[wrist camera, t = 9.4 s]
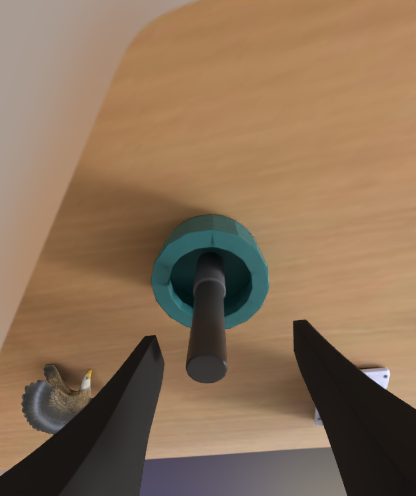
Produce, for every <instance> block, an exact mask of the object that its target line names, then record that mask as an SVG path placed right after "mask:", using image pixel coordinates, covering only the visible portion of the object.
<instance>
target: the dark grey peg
mask: <svg viewBox="0 0 416 496" xmlns="http://www.w3.org/2000/svg"><path fill="white" fill-rule="evenodd" d="M193 293H194V296H195V300H194V308H193V316H192V323H191V331H190V339H189V346H188V354H187V361H186V371H187V373H188V375H189V376H190V377H191V378H192V379H193V380H195V381H197V382H200V383H214V382H217V381H219V380H221V379H222V378H223V377H224V376H225V374H226V372H227V354H226V337H225V319H224V301H223V298H224V296H225V293H226V289H225V276H224V263H223V259H222V258H221V257H220V256H219V255H218V254H216V253H213V252H207V253H204V254H203V255H201V256H200V257H199V259H198V261H197V268H196V274H195V281H194V288H193Z"/></svg>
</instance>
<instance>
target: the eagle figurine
mask: <svg viewBox="0 0 416 496" xmlns="http://www.w3.org/2000/svg"><path fill="white" fill-rule="evenodd" d="M92 371H93V370H89V371H88V373H87V374H86V375H85V377H84V378H83V380H82V383H81V387H80V390H79V391H73V390H71V389H70V388H69V387H68V386H67V385H66V384H65V382H64V381H63V380H62V379H61V376H60V374H59V372H58V370H57V368H56V367H55V365H50V364H49V365H46V366H45V368H44V375H45V377H46V380H47V381H48V382H46V381H43V380H38V381H37V383H33V382H32V383H31V384H30V385H29V386H26V387H25V394H23V395H22V399H23V401H22V403H21V404H22V406H23V409H22V412H23V413H24V414H25V415H24V416H25V417H26V418H27V422H29V424H30V425H32V428H34V429H36V430H37V431H42V432H46V433H49V434H53V435H54V434H56V433H57V432H58V431H59V430H60V429H61V428H63V427H64V426H65V425H66V424H67V423H68V422H69V421H70V420H71V419H72V418H74V417H75V416H76V415H77V414H78V413H79V412H80V411H81V410H82V409H83V408H84V407H85V406H86V405H87V404H88V403H89V402H90V401H91V400H92V399H93V398H90V397H91V387H90V379H91V373H92Z"/></svg>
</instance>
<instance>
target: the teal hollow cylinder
mask: <svg viewBox="0 0 416 496" xmlns="http://www.w3.org/2000/svg"><path fill="white" fill-rule="evenodd" d="M207 252H213V253H216V254H218V255H219V256H220V257H221V258H222V259H223V263H224V276H225V289H226V293H225V296H224V298H223V301H224V319H225V329H230V328H232V327H234V326H236V325H239V324H241V323H243V322H245V321H247V320H249V319H250V318H251V317H252V316H253V315H254V314H255V313H256V312H257V311H258V310H259V309H260V308H261V306H262V305H263V302H264V300H265V297H266V295H267V293H268V290H269V275H268V267H267V265H266V262H265V260H264V258H263V256H262V253H261V251H260V249H259V247H258V245H257V243H256V241H255V239H254V238H253V236H252V235H251V233H250V232H249V231H248V230H247V229H246V228H245V227H244V226H243V225H241V224H240V223H238V222H237V221H235V220H233V219H231V218H228V217H225V216H220V215H201V216H197V217H194V218H191V219H189V220H187V221H185V222H183V223H182V224H180V225H179V226H178V227H177V228H175V229H174V230H173V232H172V233H171V234H170V236H169V237H168V239H167V240H166V242H165V243H164V245H163V247H162V249H161V251H160V253H159V254H158V256H157V258H156V260H155V262H154V267H153V273H152V278H151V284H152V288H153V291H154V295H155V298H156V301H157V302H158V304H159V305H160V306H161V307H162V308H163V310H164V311H165V312H166V313H167V314H168V316H169V317H170V318H172V319H174V320H176V321H177V322H179V323H181V324H183V325H184V326H186V327H190V328H191V323H192V316H193V308H194V300H195V296H194V293H193V288H194V281H195V274H196V268H197V261H198V259H199V257H200V256H201V255H203V254H204V253H207Z"/></svg>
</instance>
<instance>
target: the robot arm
mask: <svg viewBox="0 0 416 496" xmlns="http://www.w3.org/2000/svg"><path fill="white" fill-rule="evenodd" d="M293 336H294V353H295V356H296V360H297V363H298V366H299V369H300V372H301V374H302V377H303V379H304V381H305V384H306V386H307V388H308V390H309V393H310V395H311V397H312V400H313V402H314V404H315V416H314V422H315V424H316V425H317V426H323V425H324V428H325V430H326V433H327V436H328V439H329V442H330V445H331V448H332V451H333V453H334V456H335V459H336V462H337V465H338V468H339V471H340V475H341V478H342V481H343V484H344V487H345V490H346V493H347V496H416V409H415V408H413V407H412V406H410V405H409V404H407V403H406V402H404V401H402V400H401V399H399V398H398V397H396V396H395V395H393V394H392V393H390V392H389V391H388V390H386V389H387V385H388V380H389V376H390V371H389V370H388V368H374V369H362V370H360V369H358V368H357V367H356V366H355V365H354V364H352V363H351V362H350V361H349V360H348V359H346V358H345V357H344V356H343V355H342V354H341V353H340V352H339V351H338V350H336V349H335V348H334V347H333V346H332V345H331V344H330V343H329V342H328V341H327V340H326V339H325V338H324V337H323V336H322V335H321V334H320V333H319V332H318V331H317V330H316V329H315V328H314V327H313V326H312V325H311V324H310V323H309V322H308V321H307V320H297V321H293ZM164 363H165V362H164V359H163V356H162V353H161V350H160V347H159V344H158V341H157V338H156V335H152V336H145V337H144V338H143V339H142V340H141V342H140V343H139V344H138V346H137V347H136V348H135V349H134V351H133V352H132V353H131V355H130V356H129V357H128V359H127V360H126V361H125V362H124V364H123V365H122V366H121V367H120V369H119V370H118V371H117V372H116V373H115V375H114V376H113V377H112V378H111V379H110V380H109V382H108V383H107V384H106V385H105V386H104V387H103V389H102V390H101V391H100V392H99V393H98V394H97V395H96V396H95V397H94V398H93V399H92V400H91V401H90V402H89V403H88V404H87V405H86V406H85V407H84V408H83V409H82V410H81V411H80V412H79V413H78V414H77V415H76V416H75V417H74V418H72V419H71V420H70V421H69V422H68V423H67V424H66V425H65V426H64V427H63V428H61V429H60V430H59V431H58V432H57V433H56V434H54V435H53V436H52V437H51V438H50V439H49V440H47V441H46V442H45V443H44V444H42V445H41V446H40V447H39V448H37V449H36V450H35V451H34V452H32V453H31V454H30V455H28V456H27V457H26V458H24V459H23V460H22V461H20V462H19V463H18V464H16V465H15V466H14V467H12V468H11V469H10V470H8V471H7V472H5V473H4V474H3V475H1V476H0V496H139V494H140V487H141V480H142V474H143V467H144V461H145V455H146V449H147V443H148V438H149V433H150V429H151V425H152V421H153V417H154V413H155V409H156V405H157V401H158V397H159V393H160V389H161V385H162V379H163V372H164Z"/></svg>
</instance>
